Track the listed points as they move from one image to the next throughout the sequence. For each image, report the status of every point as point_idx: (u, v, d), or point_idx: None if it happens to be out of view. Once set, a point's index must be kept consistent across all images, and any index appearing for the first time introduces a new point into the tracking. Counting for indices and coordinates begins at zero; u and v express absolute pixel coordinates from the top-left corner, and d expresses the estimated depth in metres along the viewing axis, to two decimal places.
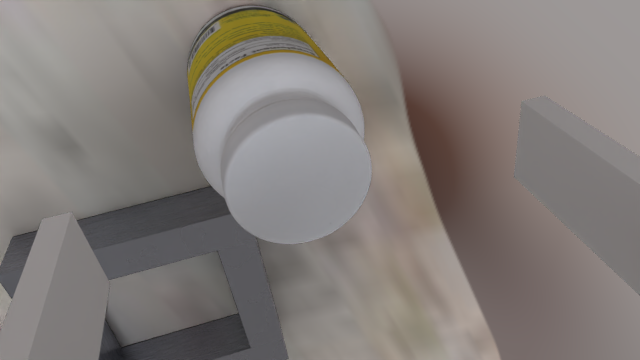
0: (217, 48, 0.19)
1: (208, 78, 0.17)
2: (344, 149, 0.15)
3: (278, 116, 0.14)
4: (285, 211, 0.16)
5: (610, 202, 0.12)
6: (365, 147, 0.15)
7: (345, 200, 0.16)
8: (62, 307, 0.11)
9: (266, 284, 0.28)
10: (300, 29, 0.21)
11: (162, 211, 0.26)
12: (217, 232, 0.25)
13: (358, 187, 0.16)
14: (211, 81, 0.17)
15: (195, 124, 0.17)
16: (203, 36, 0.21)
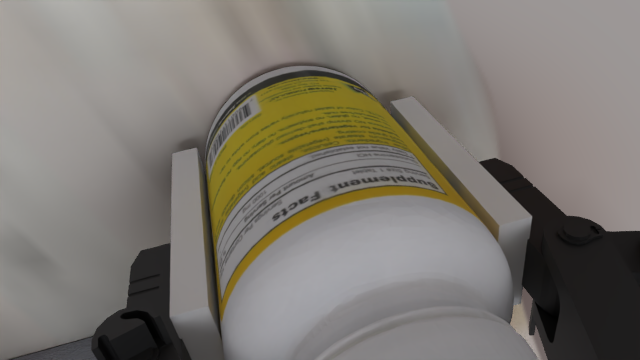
0: (259, 158, 0.11)
1: (249, 229, 0.10)
2: None
3: None
4: None
5: None
6: None
7: None
8: (207, 219, 0.13)
9: None
10: (382, 109, 0.14)
11: None
12: None
13: None
14: (256, 242, 0.09)
15: (227, 319, 0.09)
16: (232, 118, 0.14)
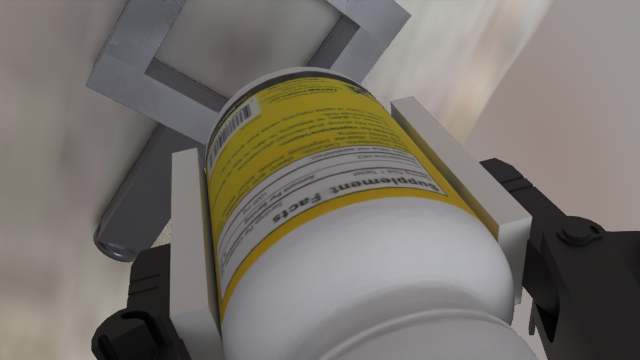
0: (259, 159, 0.11)
1: (250, 231, 0.10)
2: None
3: None
4: None
5: None
6: None
7: None
8: (207, 219, 0.13)
9: None
10: (382, 110, 0.14)
11: None
12: (377, 11, 0.26)
13: None
14: (257, 244, 0.09)
15: (227, 321, 0.09)
16: (232, 119, 0.14)
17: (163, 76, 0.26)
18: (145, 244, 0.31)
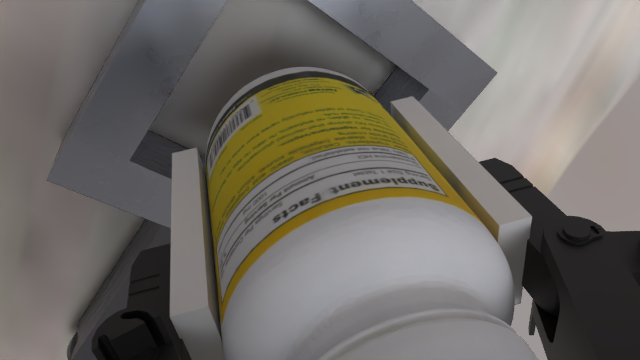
0: (260, 159, 0.11)
1: (250, 231, 0.10)
2: None
3: None
4: None
5: None
6: None
7: None
8: (207, 219, 0.13)
9: None
10: (382, 110, 0.14)
11: None
12: (453, 68, 0.19)
13: None
14: (257, 244, 0.09)
15: (227, 321, 0.09)
16: (232, 119, 0.14)
17: (157, 158, 0.19)
18: None
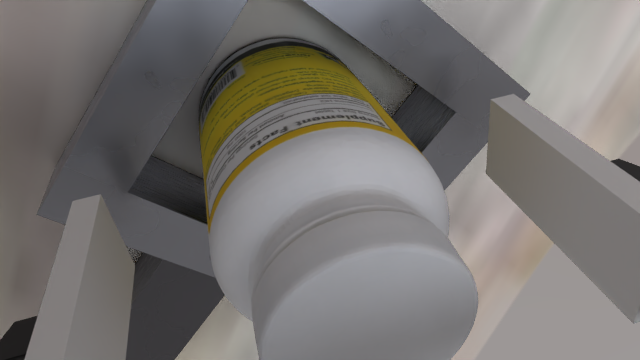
0: (241, 107, 0.14)
1: (231, 159, 0.12)
2: (444, 287, 0.10)
3: (348, 250, 0.09)
4: None
5: (570, 197, 0.12)
6: (473, 282, 0.10)
7: (435, 350, 0.11)
8: (96, 282, 0.12)
9: None
10: (349, 73, 0.16)
11: None
12: (483, 90, 0.17)
13: (455, 333, 0.11)
14: (236, 166, 0.12)
15: (213, 229, 0.12)
16: (220, 81, 0.16)
17: (158, 187, 0.17)
18: None
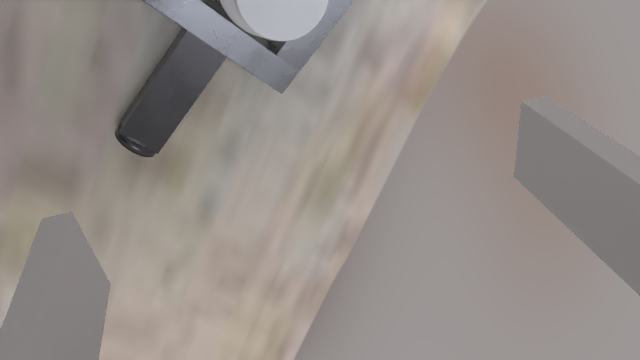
0: None
1: None
2: None
3: None
4: (272, 13, 0.25)
5: (610, 202, 0.12)
6: None
7: (311, 11, 0.25)
8: (62, 307, 0.11)
9: (341, 15, 0.33)
10: None
11: None
12: None
13: (320, 2, 0.25)
14: None
15: None
16: None
17: None
18: (159, 141, 0.36)
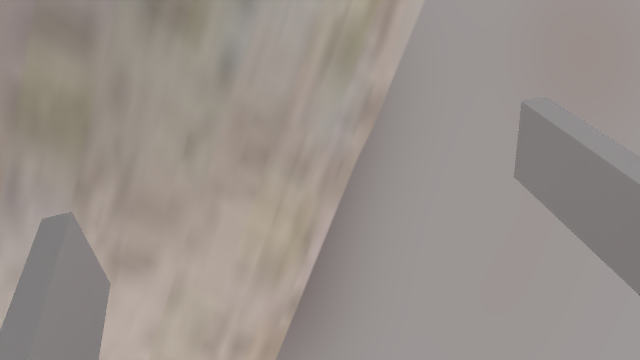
0: None
1: None
2: None
3: None
4: None
5: (610, 202, 0.12)
6: None
7: None
8: (62, 307, 0.11)
9: None
10: None
11: None
12: None
13: None
14: None
15: None
16: None
17: None
18: None
